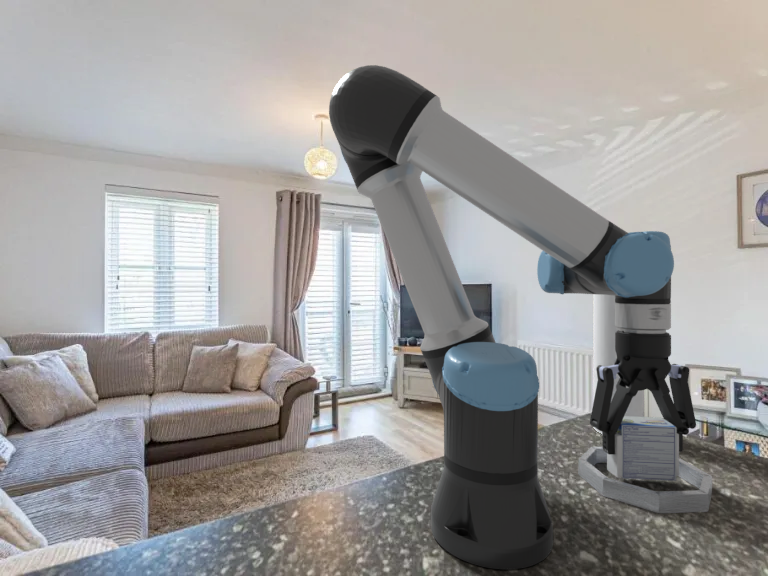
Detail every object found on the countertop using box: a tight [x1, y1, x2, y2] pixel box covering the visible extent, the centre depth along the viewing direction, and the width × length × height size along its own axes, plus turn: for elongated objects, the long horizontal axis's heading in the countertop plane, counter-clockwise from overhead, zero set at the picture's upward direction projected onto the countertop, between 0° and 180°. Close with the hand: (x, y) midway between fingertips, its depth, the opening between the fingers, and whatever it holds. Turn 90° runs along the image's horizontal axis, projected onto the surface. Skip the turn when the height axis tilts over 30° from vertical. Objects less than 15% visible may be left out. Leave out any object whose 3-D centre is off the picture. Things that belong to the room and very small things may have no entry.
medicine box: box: [617, 416, 677, 482], centre depth 66 cm, size 8×4×9 cm, turn 82°
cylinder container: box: [592, 294, 645, 435], centre depth 88 cm, size 9×9×30 cm
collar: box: [577, 446, 713, 514], centre depth 66 cm, size 17×17×2 cm
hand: (642, 472), depth 66 cm, fingers closed on medicine box, 8 cm apart
